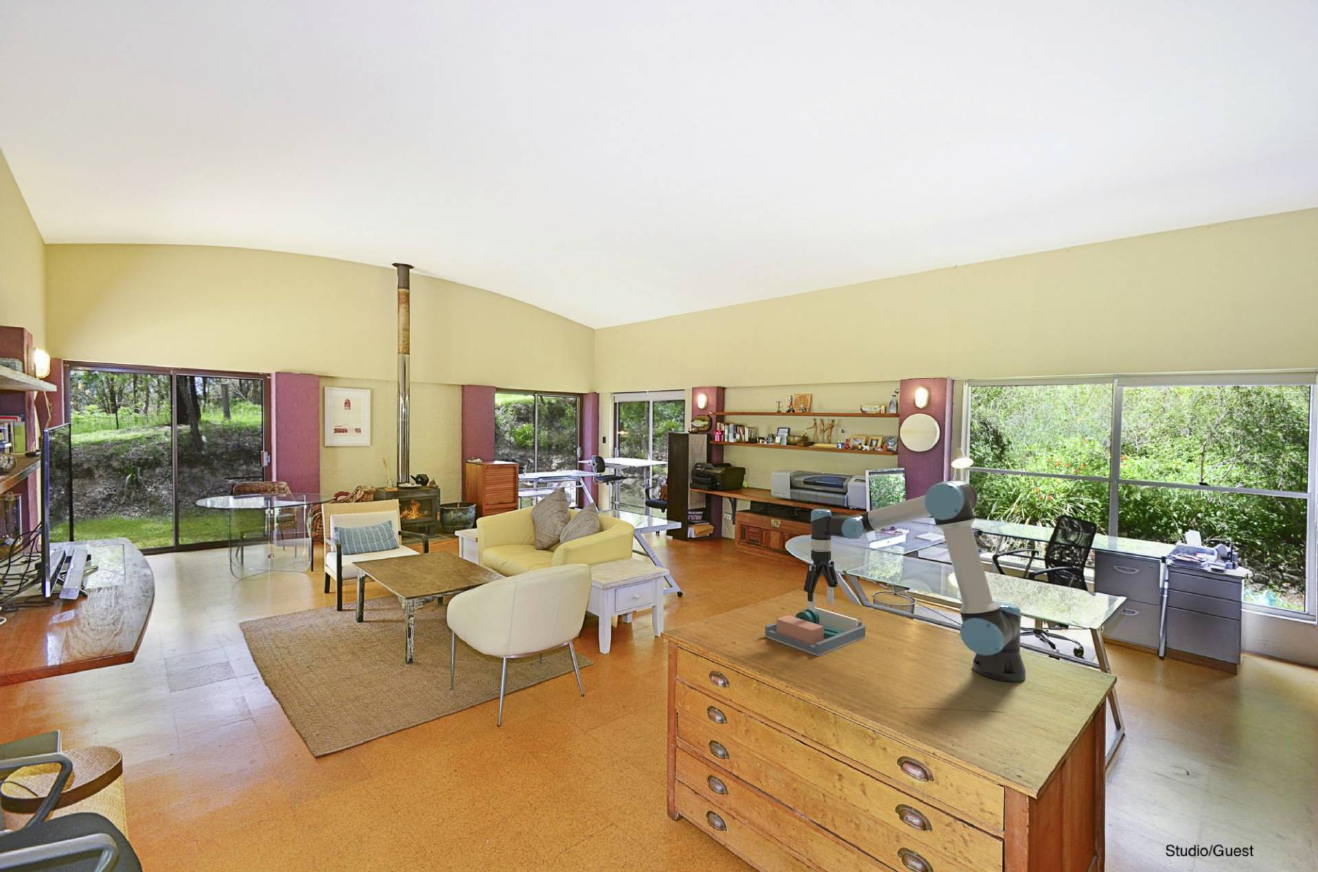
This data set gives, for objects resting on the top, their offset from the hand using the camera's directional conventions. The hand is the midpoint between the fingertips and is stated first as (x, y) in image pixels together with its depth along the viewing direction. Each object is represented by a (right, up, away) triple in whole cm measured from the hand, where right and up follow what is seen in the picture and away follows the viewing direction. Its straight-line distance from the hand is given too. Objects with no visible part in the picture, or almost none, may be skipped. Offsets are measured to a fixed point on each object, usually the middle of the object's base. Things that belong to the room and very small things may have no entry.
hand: (821, 606), depth 226 cm
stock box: (-10, -11, -7) cm, 17 cm away
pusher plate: (+7, -10, +7) cm, 14 cm away
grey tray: (-3, -11, -1) cm, 12 cm away
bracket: (0, -11, 0) cm, 11 cm away
